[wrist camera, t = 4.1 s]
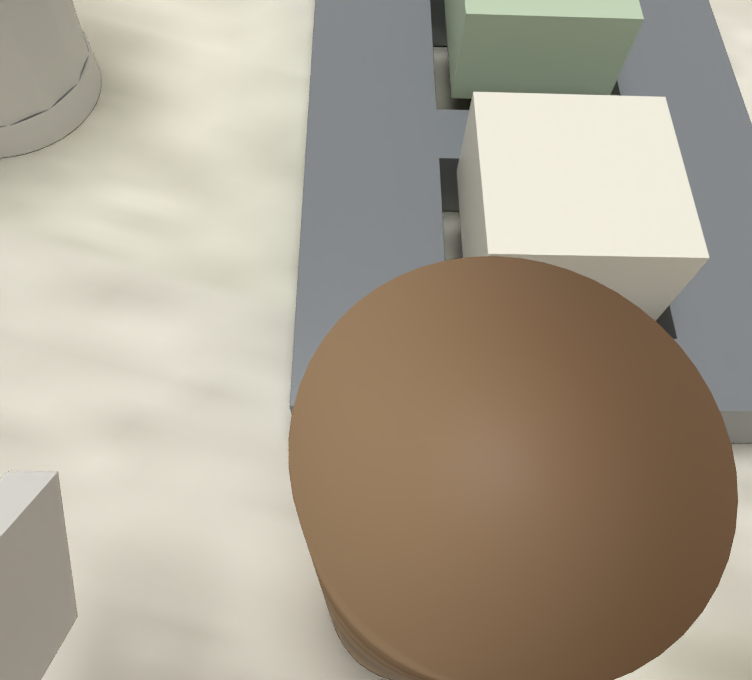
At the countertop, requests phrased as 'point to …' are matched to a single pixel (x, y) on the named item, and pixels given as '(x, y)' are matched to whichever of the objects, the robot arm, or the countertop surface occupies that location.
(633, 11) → the key mid
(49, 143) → the cup
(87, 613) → the countertop surface
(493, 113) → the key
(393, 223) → the keypad
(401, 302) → the wooden pepper mill
